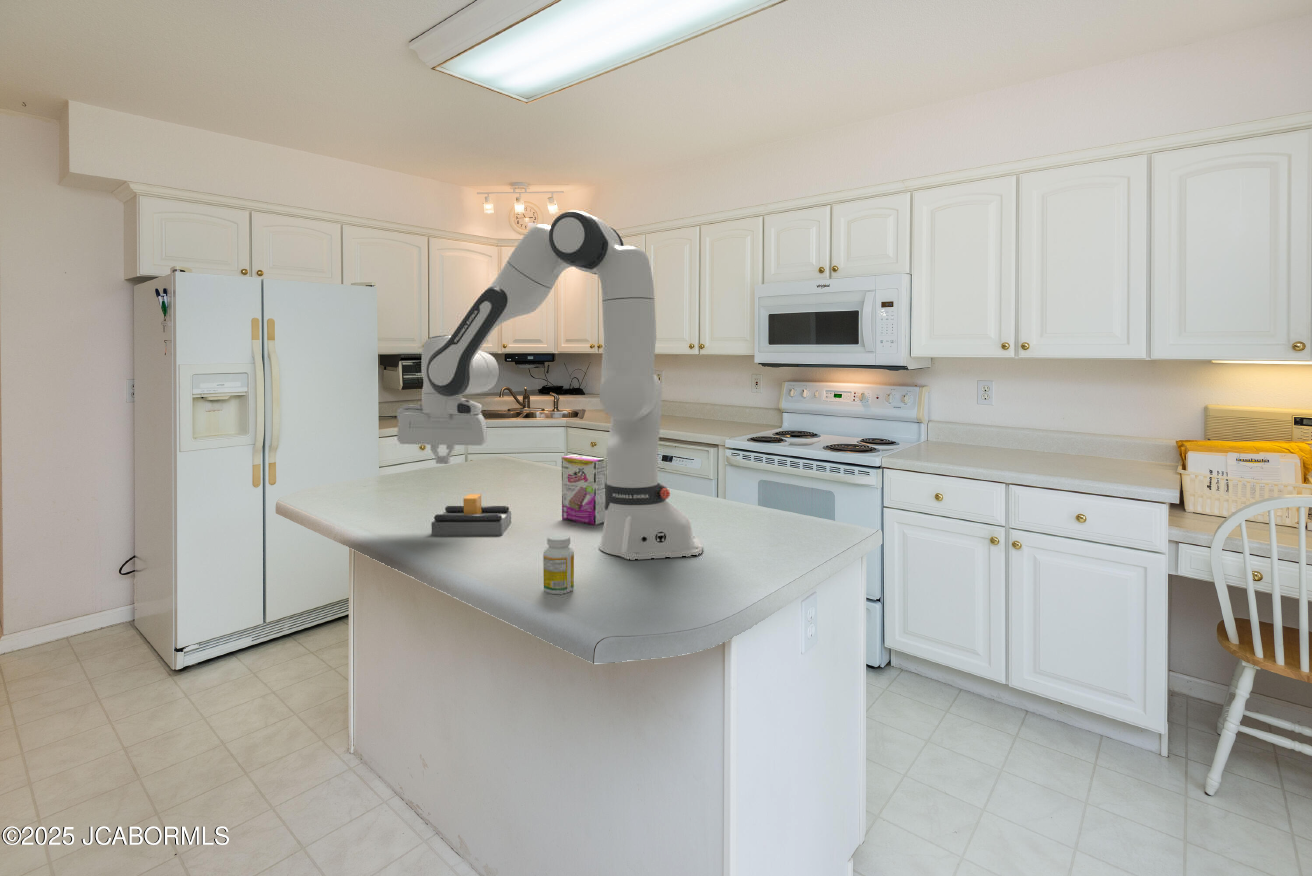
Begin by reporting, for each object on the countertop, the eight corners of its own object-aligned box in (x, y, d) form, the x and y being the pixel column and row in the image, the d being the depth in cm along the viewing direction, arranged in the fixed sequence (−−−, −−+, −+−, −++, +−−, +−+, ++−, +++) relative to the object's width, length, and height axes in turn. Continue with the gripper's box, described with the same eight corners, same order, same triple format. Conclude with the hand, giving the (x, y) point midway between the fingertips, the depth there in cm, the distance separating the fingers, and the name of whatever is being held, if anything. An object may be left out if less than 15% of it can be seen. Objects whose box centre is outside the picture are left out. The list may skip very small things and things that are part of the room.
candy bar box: (560, 519, 164) (560, 456, 162) (573, 516, 168) (573, 454, 166) (595, 526, 158) (595, 460, 156) (607, 522, 162) (607, 457, 160)
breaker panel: (511, 522, 160) (511, 504, 160) (501, 535, 148) (501, 516, 148) (446, 522, 159) (445, 504, 159) (431, 535, 148) (431, 516, 147)
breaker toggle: (481, 512, 156) (481, 494, 155) (476, 517, 151) (476, 498, 150) (469, 512, 156) (468, 494, 155) (463, 517, 151) (463, 498, 150)
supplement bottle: (557, 597, 109) (556, 542, 108) (537, 590, 113) (536, 537, 112) (580, 589, 114) (580, 536, 112) (560, 582, 117) (560, 531, 116)
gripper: (392, 405, 147) (393, 464, 148) (482, 407, 147) (482, 466, 149) (401, 403, 153) (403, 460, 154) (488, 405, 154) (488, 462, 155)
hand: (442, 463), depth 152 cm, fingers closed
